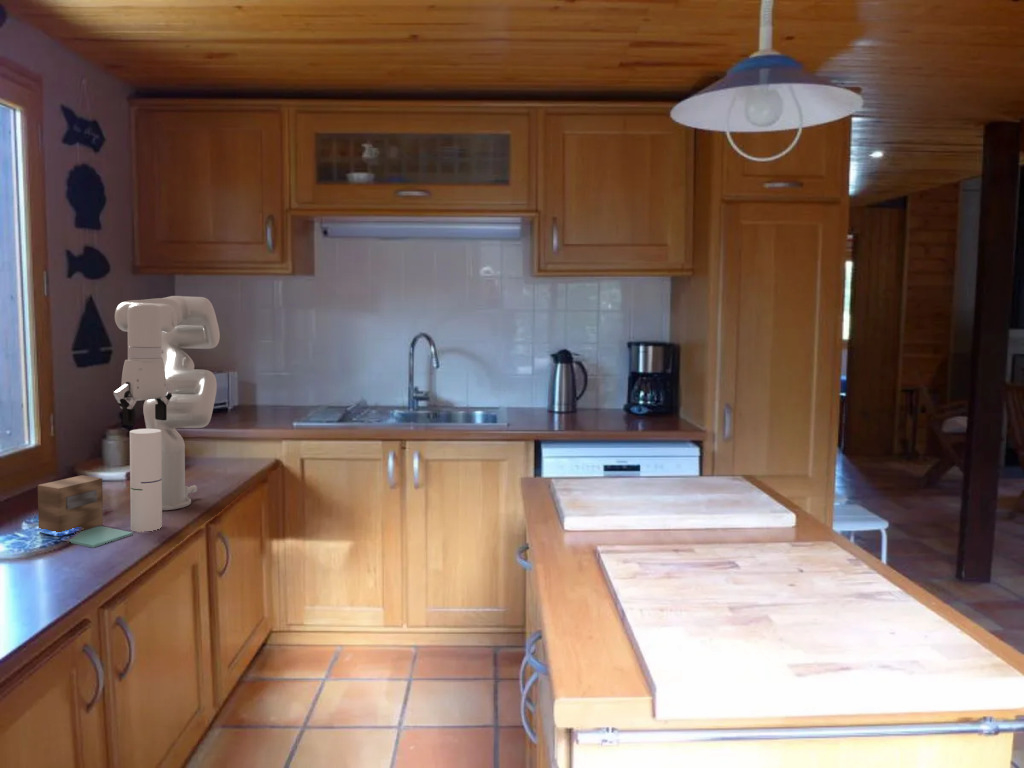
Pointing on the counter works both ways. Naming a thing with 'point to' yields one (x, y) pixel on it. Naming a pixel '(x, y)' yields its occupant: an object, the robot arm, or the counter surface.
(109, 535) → the teal pad
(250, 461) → the counter surface
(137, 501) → the cylindrical container
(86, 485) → the walnut housing
